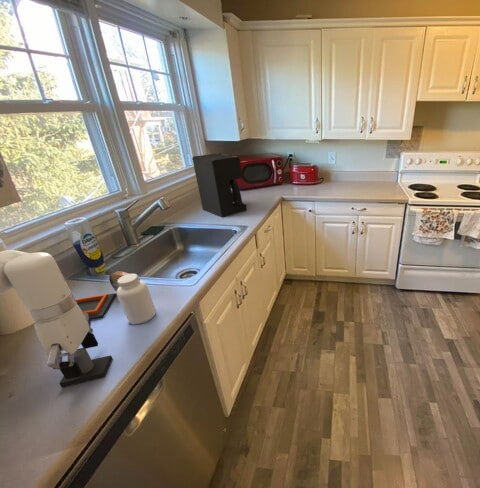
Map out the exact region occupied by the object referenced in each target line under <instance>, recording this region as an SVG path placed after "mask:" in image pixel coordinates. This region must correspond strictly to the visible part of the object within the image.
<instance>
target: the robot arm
mask: <svg viewBox="0 0 480 488" xmlns="http://www.w3.org/2000/svg"><path fill="white" fill-rule="evenodd" d="M11 289H13V290H14V291H15V292H16V294H17V296H18V298H19V299H20V300H21V302H22V304H23V306H24V307H25V309H26V311H27V312H28V314H29V316H30V317H31V319H32V320H33V322H34V323H33V326H34V330H35V333H36V336H37V339H38V341H39V343H40V345H41V347H42V349H43V351H44V353H45V355H46V356H47V358H48V360H47V363H46V365H47V367H49V368H51V369H53V370H60V371H59V372H61V374H62V375H63V376H64V377H65V379H71V378H75V377H79V376H82V374H83V373H82V371H81V369H80V367H79V365H78V364H77V362H74V353H75V352H76V350H77V349H79V348H80V346H81V348H85V349H86V350H87V349H91V348H96V347H98V346H99V342H98V340H97V338H96V336H95V335H94V333H93V332H94V329H93V328H92V327H91V324H92V323H91V320H89V316H88V313H84V314H83V312H82V310H81V309H80V307H79V306H78V305H77V303H76V301H75V299H76V298H75V297H74V295H73V293H72V291H71V289H70V287H69V285H68V283H67V281H66V279H65V277H64V275H63V274H62V271H61V269H60V268H59V265H58V264H57V261H56V259H55V257H54V256H53V255H52V254H50V253H48V252H44V251H40V252H25V251H21V250H16V249H7V250H1V251H0V295H2V294H4V293H5V292H7V291H9V290H11ZM63 351H64V352H63ZM62 352H63V353H62ZM66 356H67V361H66V360H65V361H63V357H66Z"/></svg>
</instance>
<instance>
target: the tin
mask: <svg viewBox="0 0 480 488" xmlns="http://www.w3.org/2000/svg"><path fill="white" fill-rule="evenodd" d="M127 274H130V273H129V272H126V271H123V270H117V271H114V272H112V273H110V274H109V275H108V279H109V283H110V286H111V287H112V288H113V289H114V291H115V292H117V290H118V288H119V287H120V286H119V285H118V282H117V281H118V279H119V278H120V277H122V276H124V275H127Z"/></svg>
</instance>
